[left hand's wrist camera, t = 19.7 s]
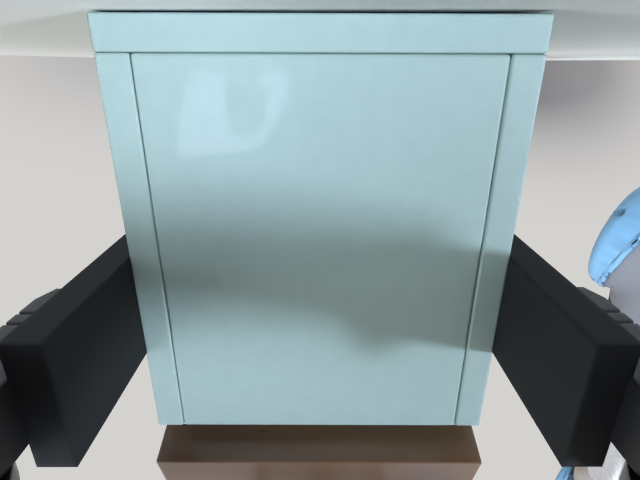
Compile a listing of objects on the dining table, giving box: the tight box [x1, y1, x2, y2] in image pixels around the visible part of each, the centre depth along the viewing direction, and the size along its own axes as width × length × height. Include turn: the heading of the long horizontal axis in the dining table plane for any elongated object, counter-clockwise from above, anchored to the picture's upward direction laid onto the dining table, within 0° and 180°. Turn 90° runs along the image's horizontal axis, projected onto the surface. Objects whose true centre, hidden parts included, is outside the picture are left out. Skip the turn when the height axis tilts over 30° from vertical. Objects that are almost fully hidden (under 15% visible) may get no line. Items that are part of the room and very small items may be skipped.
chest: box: [87, 12, 554, 425], centre depth 18 cm, size 17×9×10 cm, turn 0°
